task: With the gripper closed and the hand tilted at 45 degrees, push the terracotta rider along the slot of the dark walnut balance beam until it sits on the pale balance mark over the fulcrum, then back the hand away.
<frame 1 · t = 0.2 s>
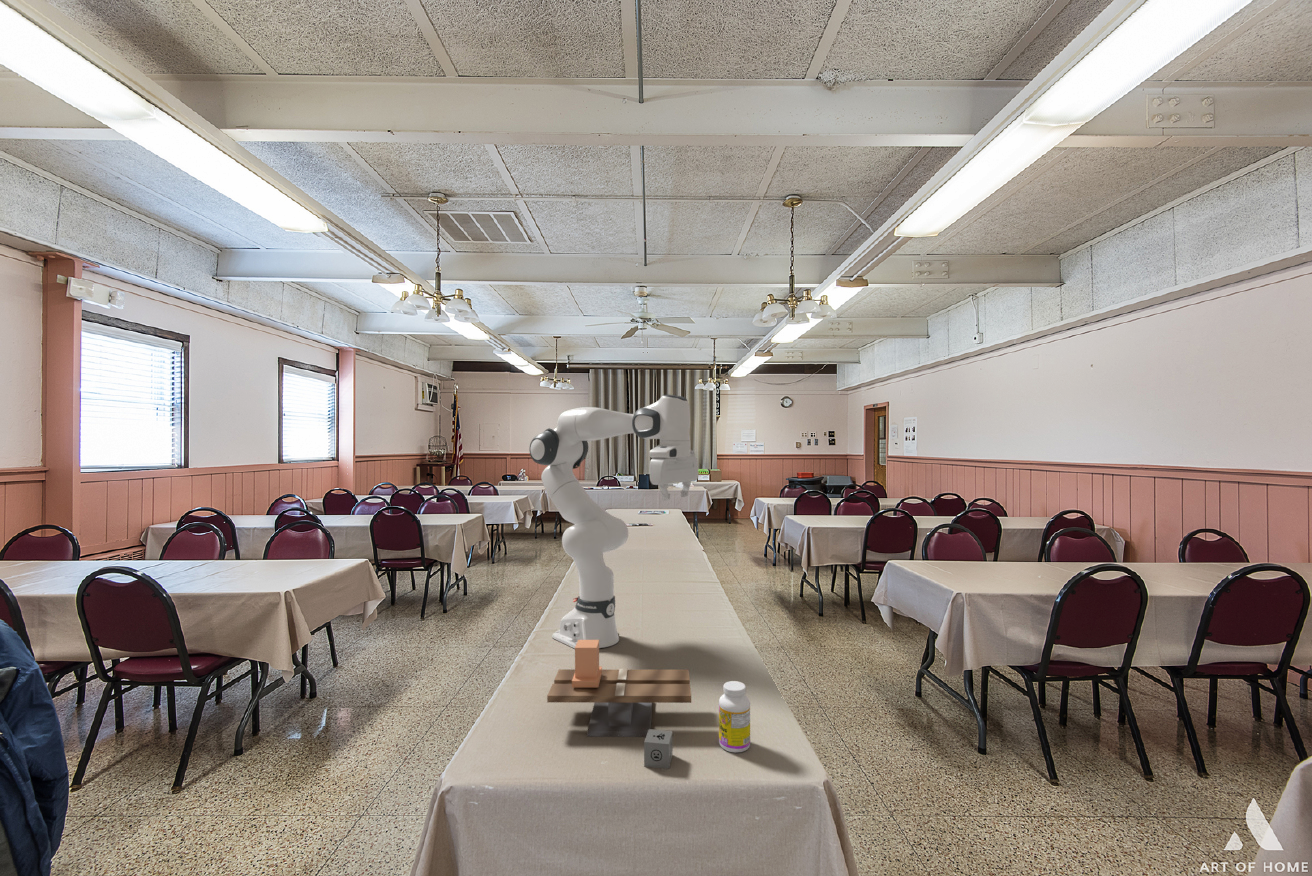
hand: (675, 498, 164), 48 cm above the table, tool pointing down, fingers open, 8 cm apart
rider: (587, 664, 132), point 13 cm above the table, slide at -8.0 cm
supplement bottle: (734, 746, 121), on the table
balance beam: (621, 718, 132), on the table
dice cube: (658, 761, 115), on the table
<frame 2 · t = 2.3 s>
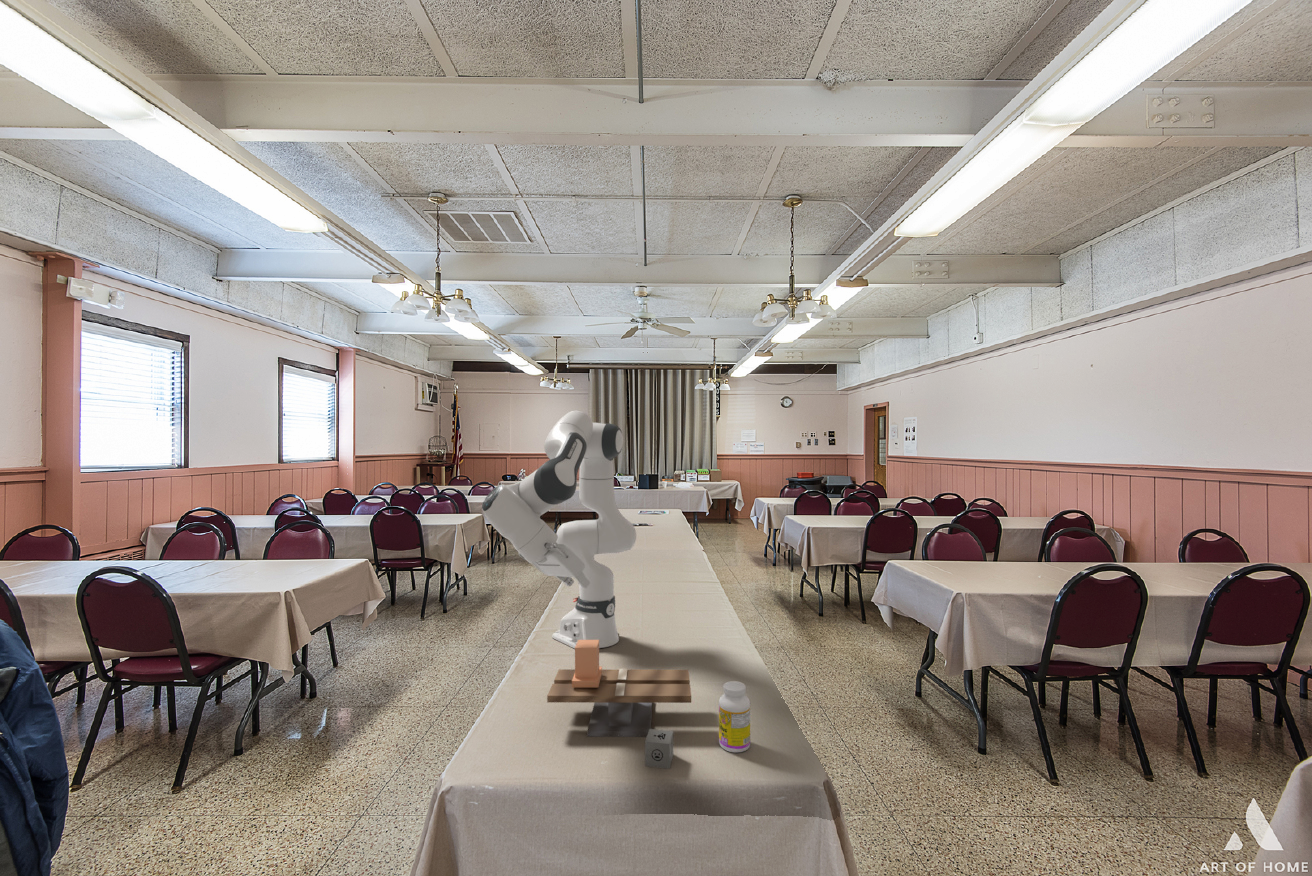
hand: (578, 584, 134), 31 cm above the table, tool tilted 40°, fingers open, 8 cm apart
nothing on the table moved.
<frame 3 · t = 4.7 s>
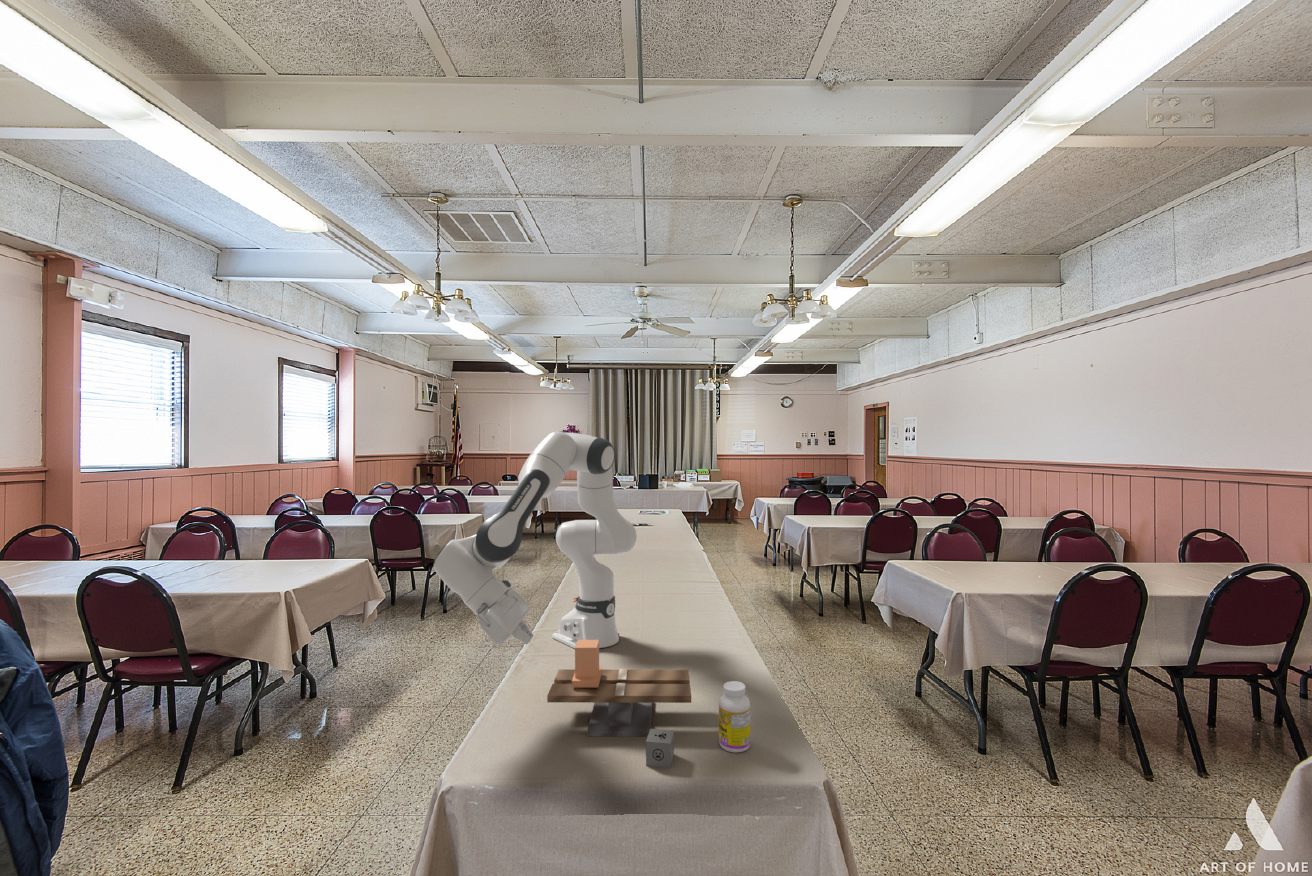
hand: (530, 640, 133), 18 cm above the table, tool tilted 45°, fingers closed
nothing on the table moved.
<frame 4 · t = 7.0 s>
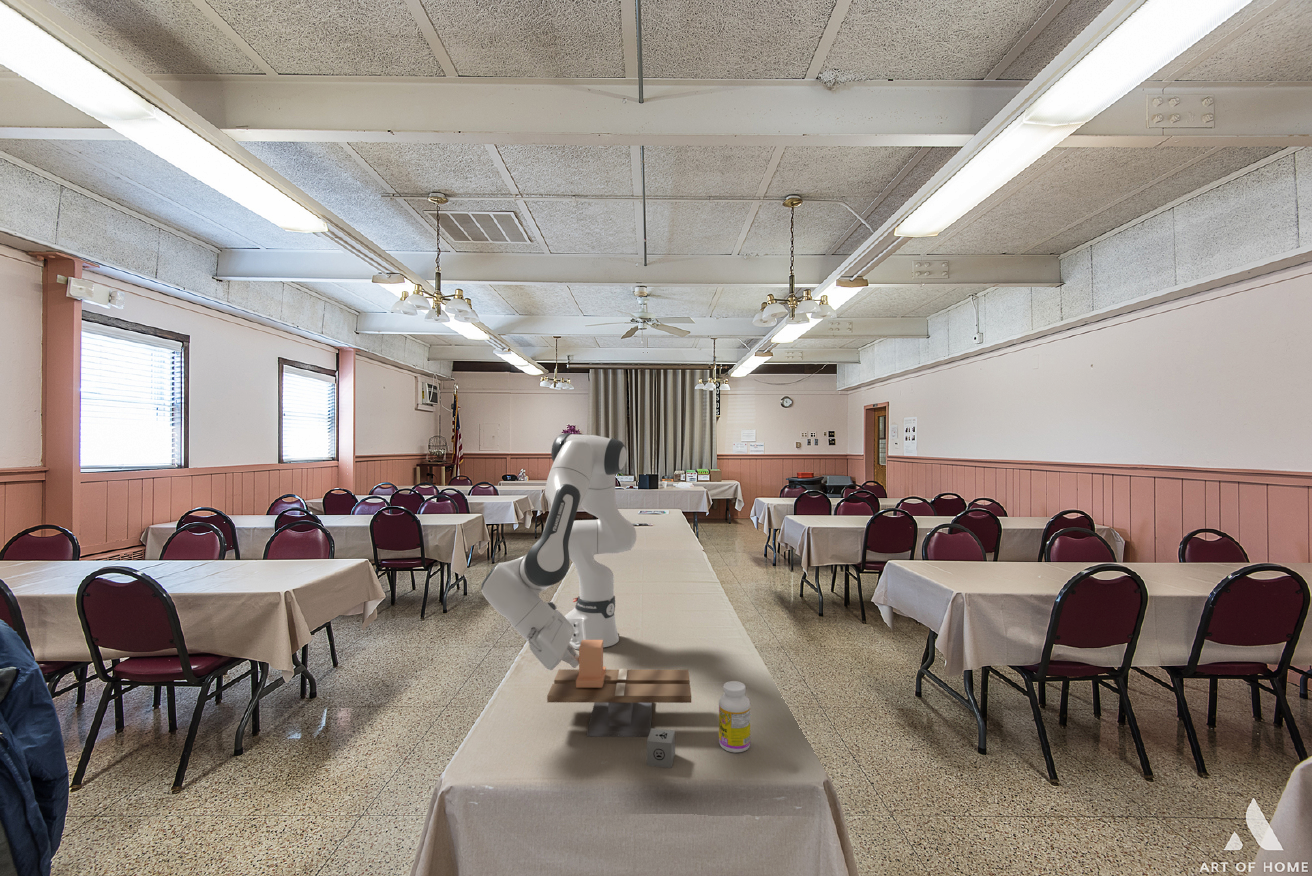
hand: (578, 663, 132), 13 cm above the table, tool tilted 45°, fingers closed, pressing on rider
rider: (591, 664, 132), point 13 cm above the table, slide at -7.0 cm, touching gripper
everything else where it was.
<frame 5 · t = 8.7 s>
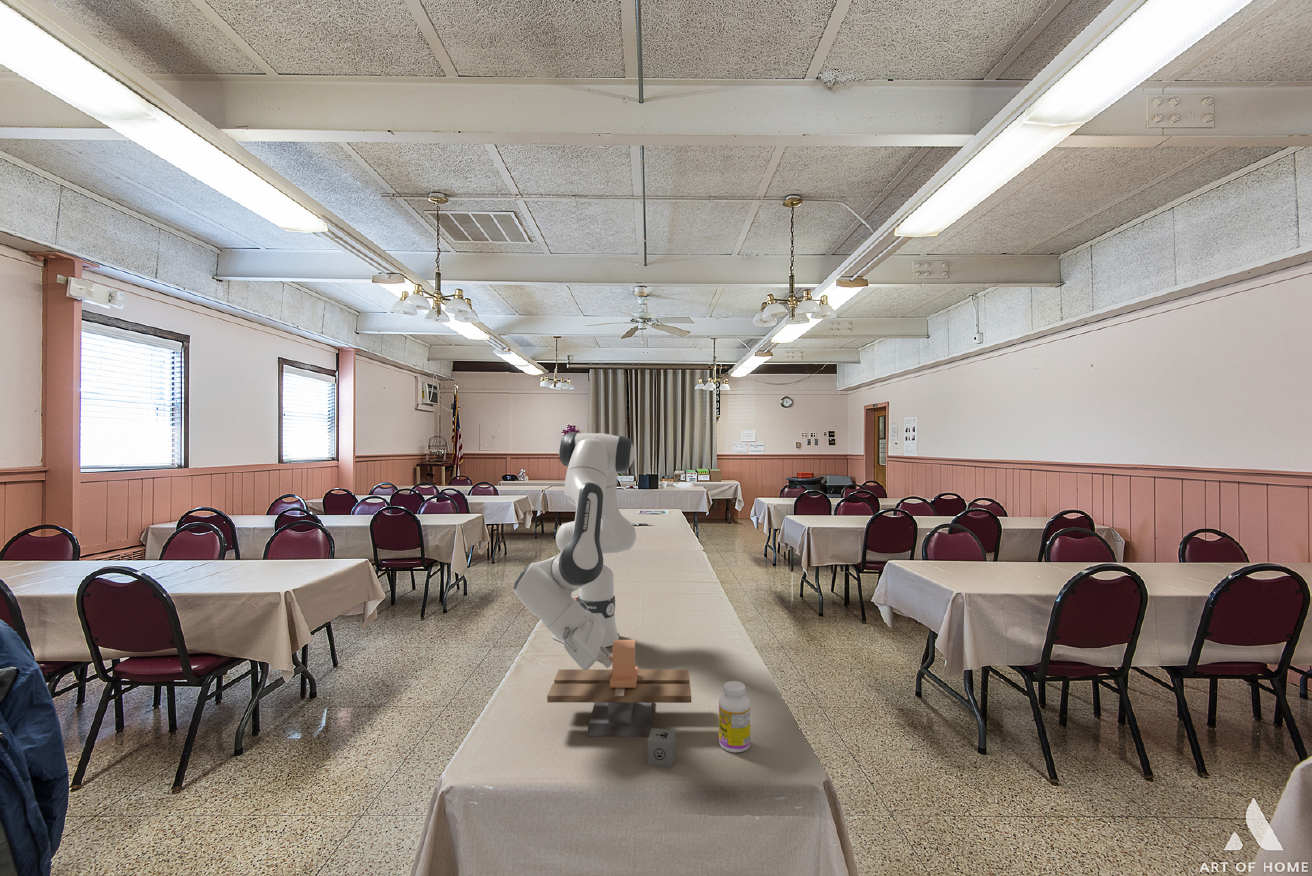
hand: (610, 663, 132), 13 cm above the table, tool tilted 45°, fingers closed, pressing on rider
rider: (624, 664, 132), point 13 cm above the table, slide at 0.6 cm, touching gripper
everything else where it was.
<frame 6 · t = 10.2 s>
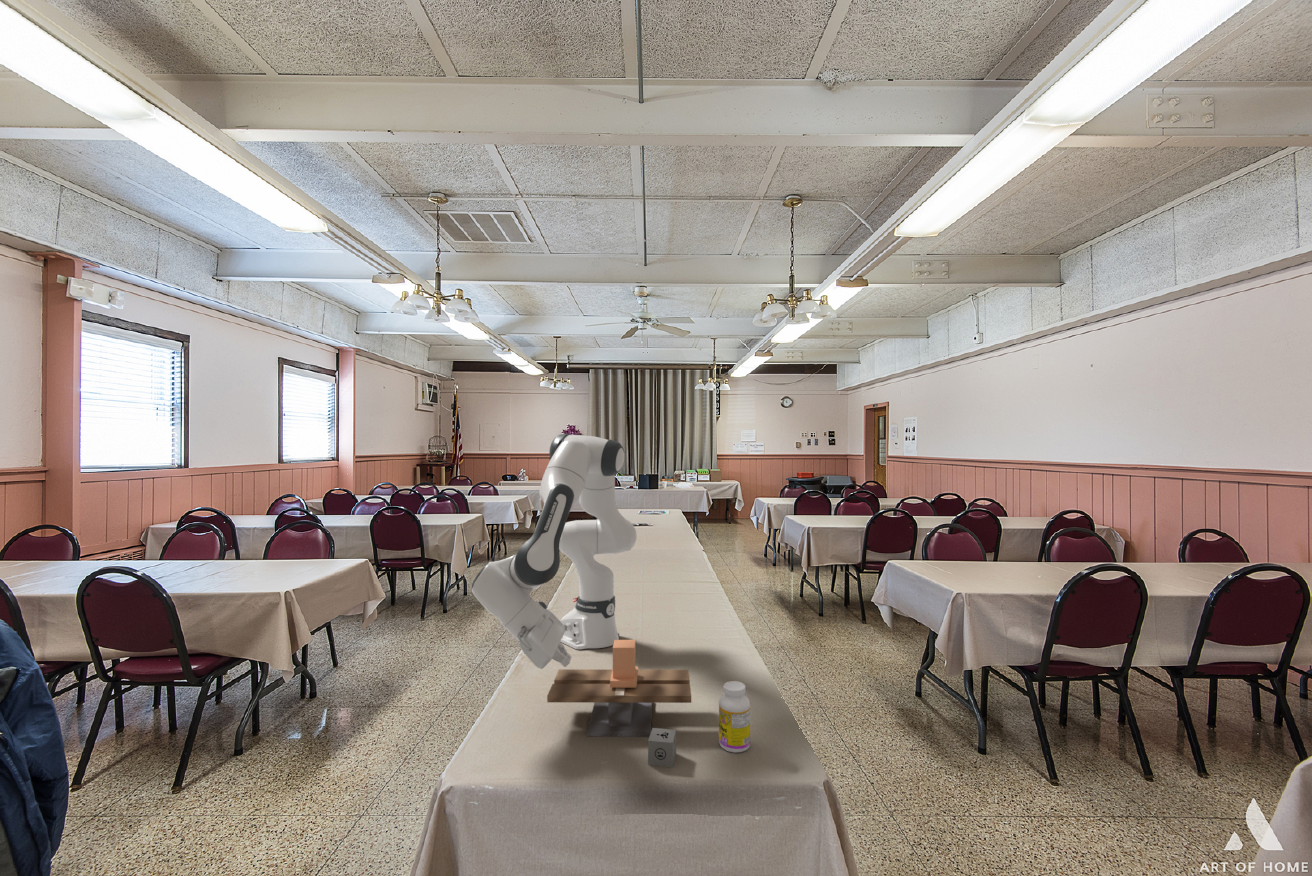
hand: (568, 662, 132), 13 cm above the table, tool tilted 45°, fingers closed
rider: (624, 664, 132), point 13 cm above the table, slide at 0.7 cm
everything else where it was.
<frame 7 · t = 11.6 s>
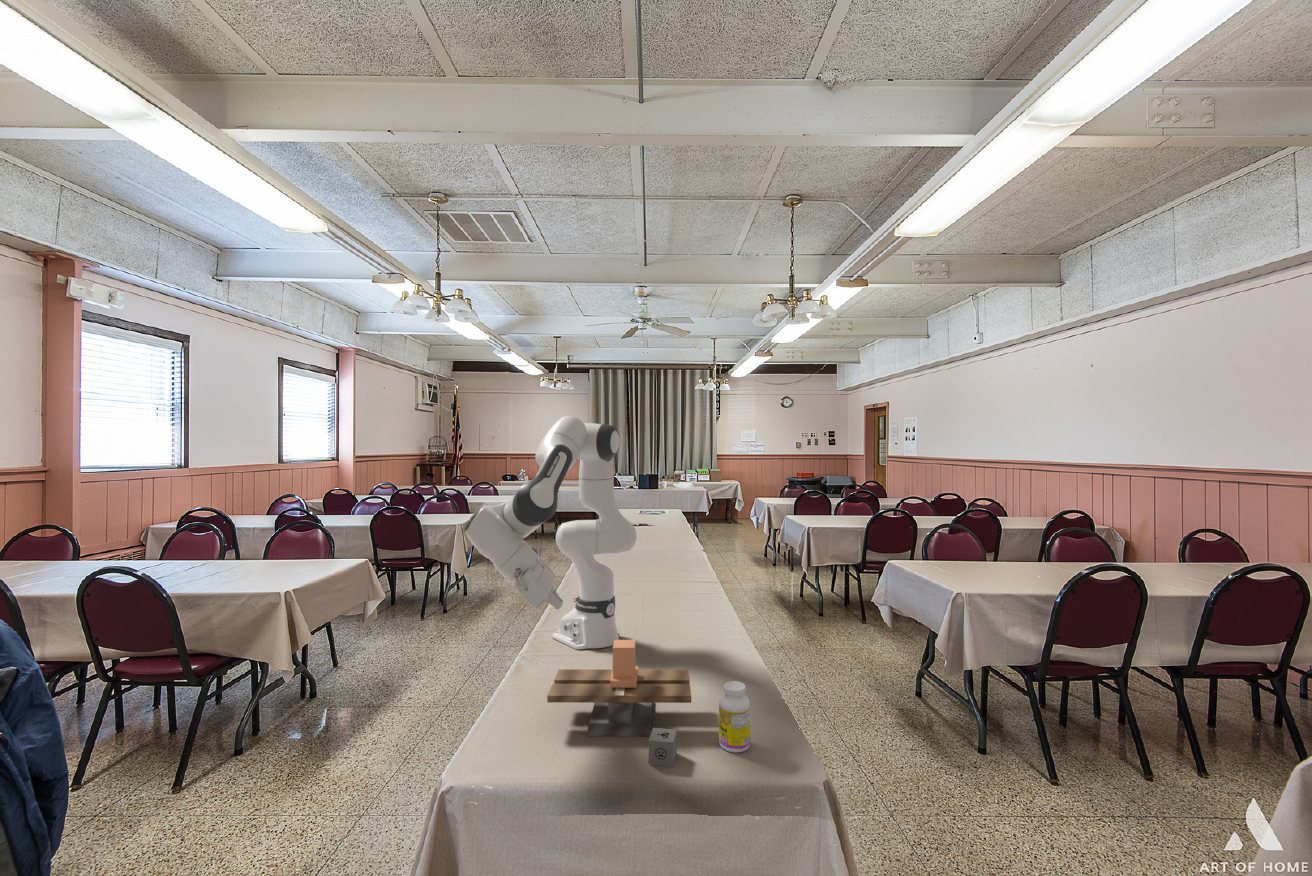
hand: (560, 605, 134), 26 cm above the table, tool tilted 45°, fingers closed
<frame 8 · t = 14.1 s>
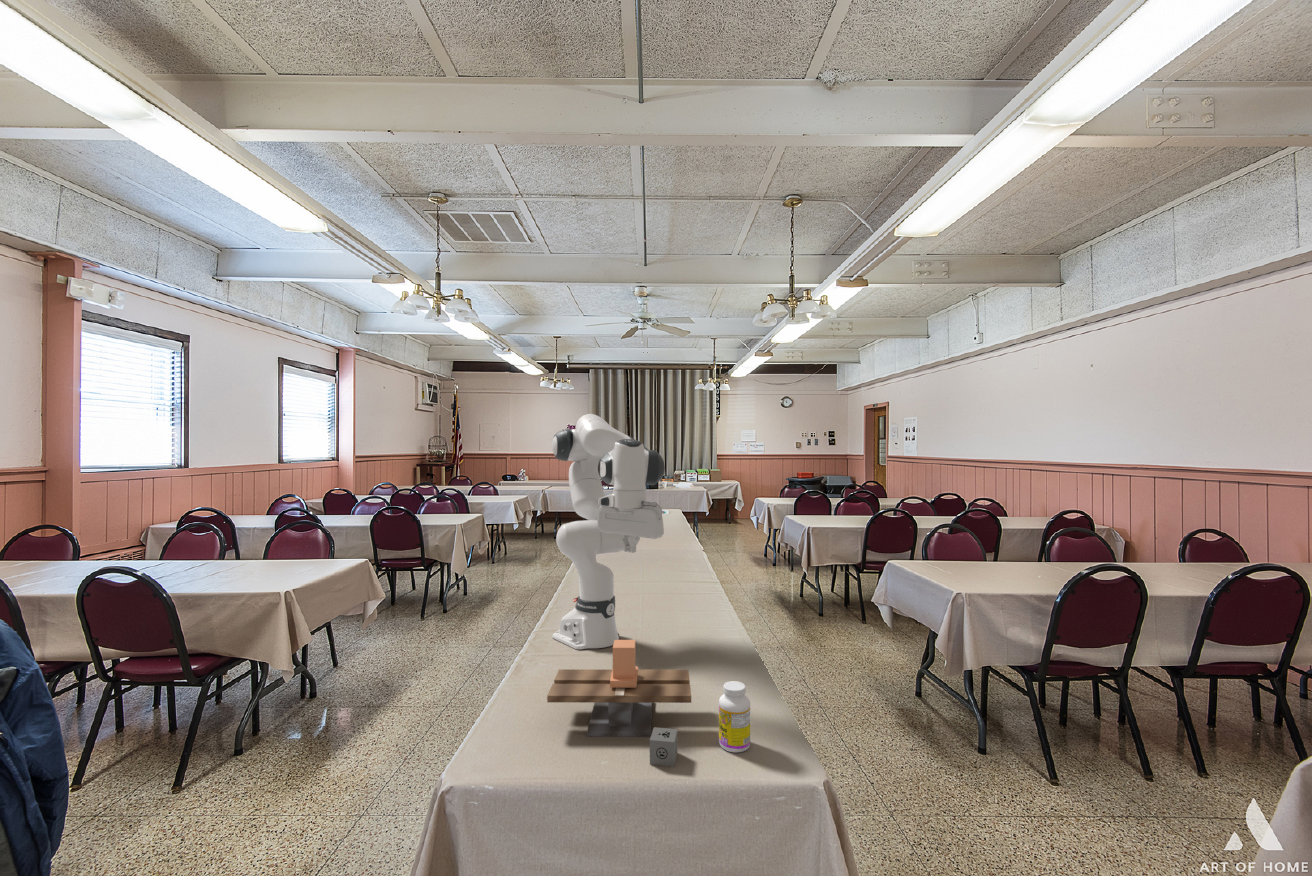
hand: (629, 551, 151), 35 cm above the table, tool pointing down, fingers closed
at the end: rider slide at 0.7 cm; the gripper is holding nothing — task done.
